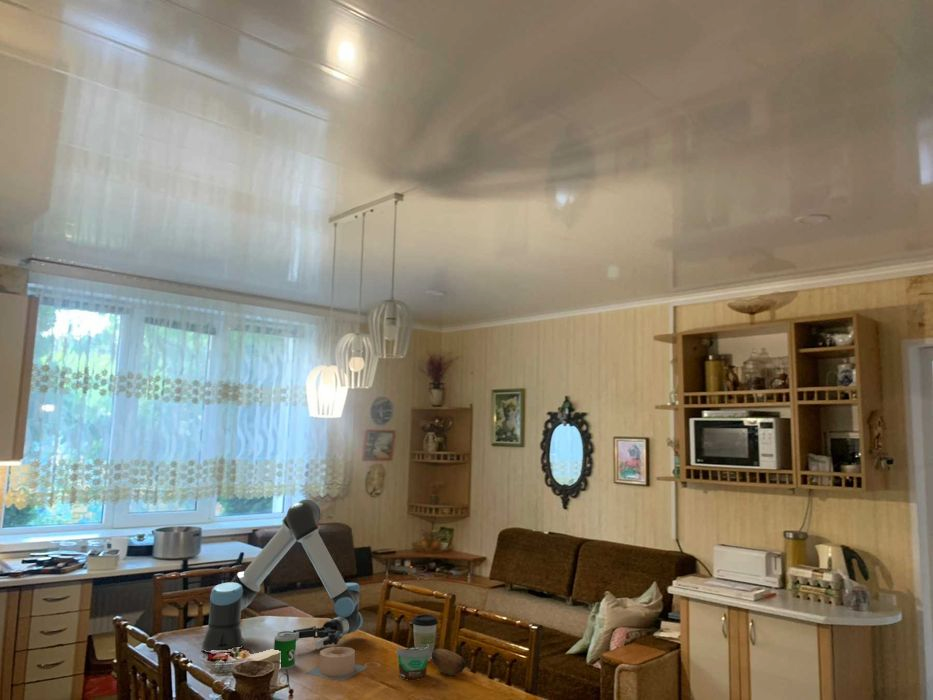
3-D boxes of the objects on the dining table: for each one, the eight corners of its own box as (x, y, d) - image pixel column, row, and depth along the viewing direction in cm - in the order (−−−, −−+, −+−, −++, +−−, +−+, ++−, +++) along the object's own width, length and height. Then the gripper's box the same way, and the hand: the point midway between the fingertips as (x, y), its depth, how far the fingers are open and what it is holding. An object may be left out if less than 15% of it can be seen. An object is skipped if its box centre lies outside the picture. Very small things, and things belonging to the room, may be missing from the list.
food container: (402, 683, 219) (403, 652, 220) (395, 678, 224) (396, 647, 226) (435, 678, 224) (436, 648, 226) (428, 673, 230) (428, 643, 231)
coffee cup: (433, 664, 240) (434, 621, 242) (407, 662, 241) (409, 619, 244) (439, 656, 249) (440, 615, 251) (415, 654, 251) (416, 613, 253)
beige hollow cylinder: (312, 672, 225) (313, 654, 226) (332, 662, 236) (333, 645, 237) (341, 678, 220) (342, 659, 221) (360, 667, 231) (361, 649, 232)
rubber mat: (303, 676, 224) (303, 673, 224) (330, 663, 238) (331, 660, 238) (342, 684, 217) (342, 680, 218) (368, 669, 232) (368, 666, 232)
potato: (462, 684, 229) (458, 677, 223) (429, 669, 234) (424, 661, 228) (471, 663, 233) (467, 655, 227) (438, 648, 238) (433, 641, 233)
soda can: (282, 674, 226) (285, 637, 228) (268, 669, 230) (270, 633, 232) (299, 668, 232) (301, 632, 234) (284, 664, 236) (286, 629, 238)
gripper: (361, 643, 254) (329, 658, 235) (309, 634, 264) (274, 648, 245) (362, 622, 255) (330, 636, 236) (310, 615, 265) (275, 627, 246)
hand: (301, 642), depth 241 cm, fingers open, 13 cm apart
